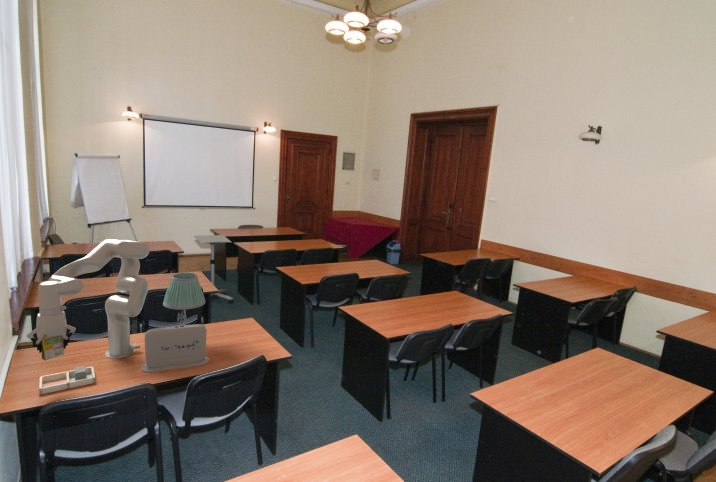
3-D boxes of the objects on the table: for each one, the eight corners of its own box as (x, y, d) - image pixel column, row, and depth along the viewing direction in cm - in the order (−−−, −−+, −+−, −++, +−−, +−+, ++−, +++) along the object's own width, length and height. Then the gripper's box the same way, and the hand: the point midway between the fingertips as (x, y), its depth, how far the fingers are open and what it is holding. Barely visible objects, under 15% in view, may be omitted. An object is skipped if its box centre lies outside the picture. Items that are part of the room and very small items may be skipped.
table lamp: (163, 338, 226) (163, 271, 219) (204, 335, 234) (205, 270, 228) (161, 355, 206) (161, 281, 200) (205, 351, 215) (206, 280, 208)
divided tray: (93, 372, 185) (93, 366, 184) (95, 384, 176) (95, 377, 175) (40, 383, 173) (39, 376, 172) (39, 396, 164) (39, 389, 163)
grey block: (85, 375, 180) (85, 365, 180) (86, 381, 176) (86, 371, 175) (75, 377, 178) (74, 367, 177) (75, 383, 173) (75, 373, 172)
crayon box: (61, 352, 173) (60, 327, 171) (64, 354, 171) (63, 329, 169) (41, 358, 167) (40, 332, 165) (44, 360, 165) (43, 334, 163)
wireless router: (140, 374, 187) (140, 334, 184) (141, 364, 196) (140, 326, 192) (210, 364, 202) (210, 327, 198) (207, 355, 210) (208, 320, 207)
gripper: (75, 304, 174) (77, 342, 177) (24, 310, 163) (26, 350, 166) (76, 310, 168) (78, 348, 171) (23, 316, 157) (25, 357, 160)
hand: (52, 349), depth 168 cm, fingers closed on crayon box, 7 cm apart
